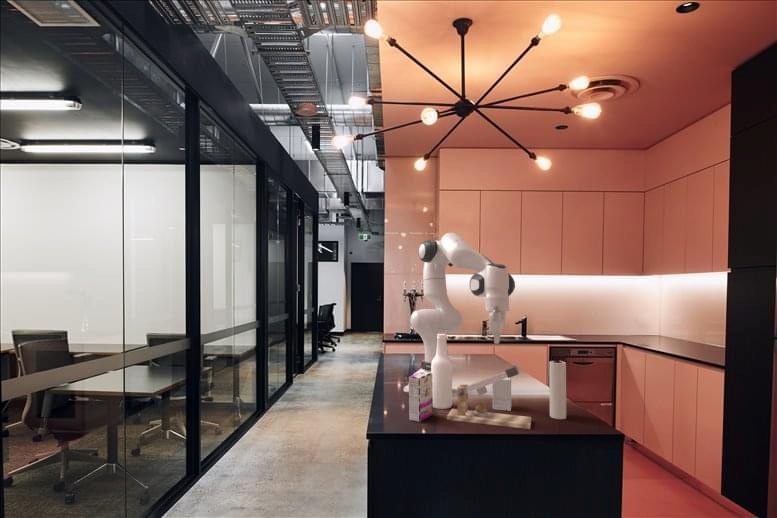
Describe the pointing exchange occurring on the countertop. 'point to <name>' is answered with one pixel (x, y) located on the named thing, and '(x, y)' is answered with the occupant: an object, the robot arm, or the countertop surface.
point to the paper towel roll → (557, 389)
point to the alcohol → (441, 375)
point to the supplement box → (502, 394)
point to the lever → (492, 380)
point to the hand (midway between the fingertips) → (497, 343)
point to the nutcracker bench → (486, 420)
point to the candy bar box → (420, 396)
